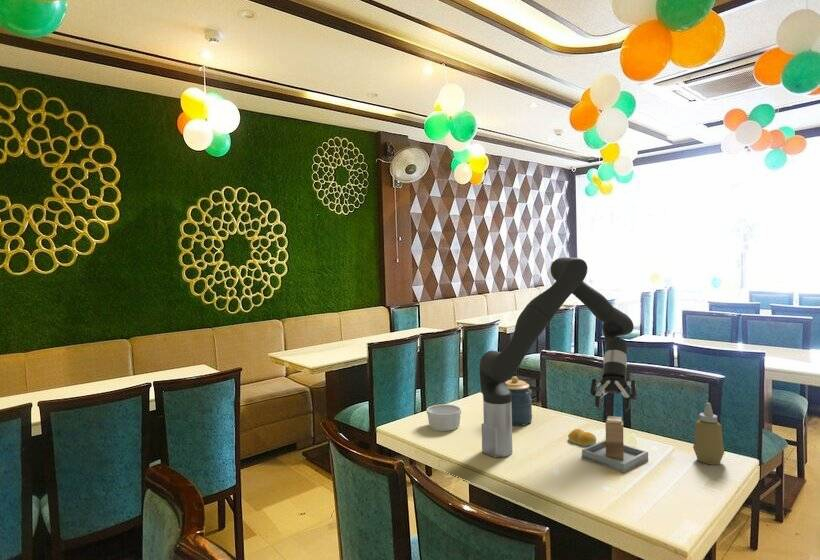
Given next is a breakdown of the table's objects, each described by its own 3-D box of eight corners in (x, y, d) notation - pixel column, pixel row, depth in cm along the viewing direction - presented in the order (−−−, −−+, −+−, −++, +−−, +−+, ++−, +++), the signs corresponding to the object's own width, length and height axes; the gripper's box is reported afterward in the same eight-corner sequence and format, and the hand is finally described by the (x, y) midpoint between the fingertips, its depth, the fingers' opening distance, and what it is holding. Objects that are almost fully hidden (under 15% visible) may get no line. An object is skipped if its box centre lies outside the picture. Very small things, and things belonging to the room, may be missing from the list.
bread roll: (589, 449, 156) (589, 437, 156) (565, 441, 163) (564, 430, 163) (601, 442, 161) (601, 430, 161) (577, 435, 168) (577, 424, 168)
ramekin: (420, 429, 178) (420, 411, 178) (437, 419, 189) (436, 402, 189) (451, 435, 171) (451, 416, 171) (467, 424, 182) (466, 406, 182)
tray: (624, 472, 137) (624, 464, 137) (582, 457, 149) (581, 449, 149) (648, 459, 146) (648, 451, 146) (606, 446, 157) (606, 439, 157)
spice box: (623, 460, 144) (623, 421, 144) (605, 457, 146) (605, 419, 146) (623, 454, 148) (623, 416, 148) (606, 451, 151) (606, 415, 150)
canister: (523, 428, 176) (522, 382, 175) (492, 422, 184) (492, 377, 184) (537, 419, 186) (537, 375, 186) (508, 413, 194) (507, 371, 194)
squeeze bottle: (721, 458, 146) (721, 401, 145) (726, 468, 138) (726, 408, 138) (691, 454, 149) (691, 398, 148) (695, 464, 142) (694, 405, 141)
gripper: (591, 360, 165) (586, 402, 157) (634, 360, 157) (633, 405, 148) (596, 370, 170) (592, 412, 161) (639, 371, 162) (637, 415, 153)
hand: (612, 409), depth 155 cm, fingers open, 8 cm apart
